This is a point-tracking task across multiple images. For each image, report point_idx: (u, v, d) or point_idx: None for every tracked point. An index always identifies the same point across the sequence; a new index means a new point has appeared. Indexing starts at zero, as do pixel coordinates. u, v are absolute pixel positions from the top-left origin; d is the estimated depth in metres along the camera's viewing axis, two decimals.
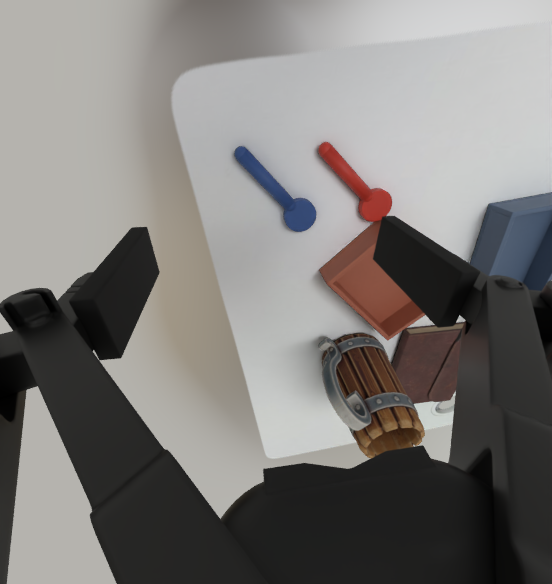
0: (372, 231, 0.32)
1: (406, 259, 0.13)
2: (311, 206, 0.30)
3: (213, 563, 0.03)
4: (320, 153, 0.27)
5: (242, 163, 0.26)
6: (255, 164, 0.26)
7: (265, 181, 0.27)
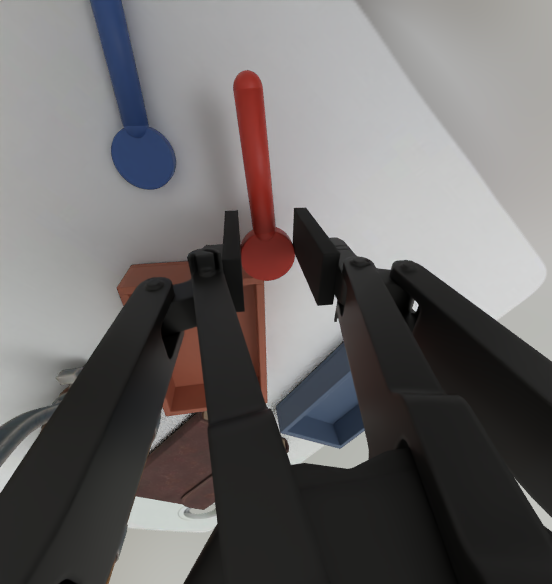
0: None
1: (304, 246, 0.15)
2: (169, 159, 0.17)
3: (284, 521, 0.04)
4: (235, 82, 0.12)
5: None
6: None
7: (108, 37, 0.13)
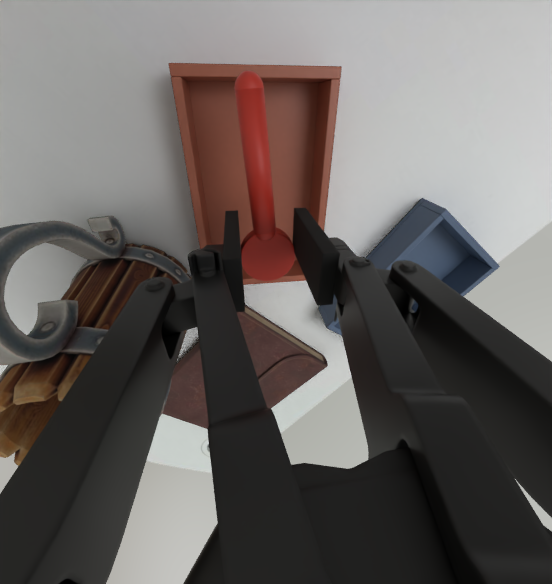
0: None
1: (303, 246, 0.15)
2: None
3: (284, 521, 0.04)
4: (236, 82, 0.12)
5: None
6: None
7: None
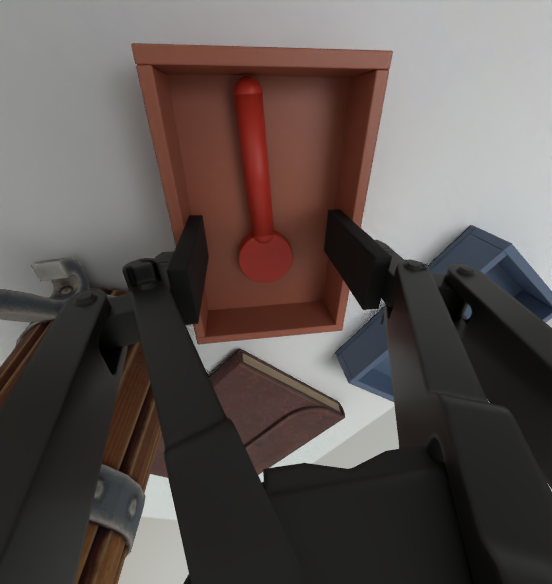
0: None
1: (343, 248, 0.14)
2: None
3: (255, 531, 0.04)
4: (235, 87, 0.12)
5: None
6: None
7: None
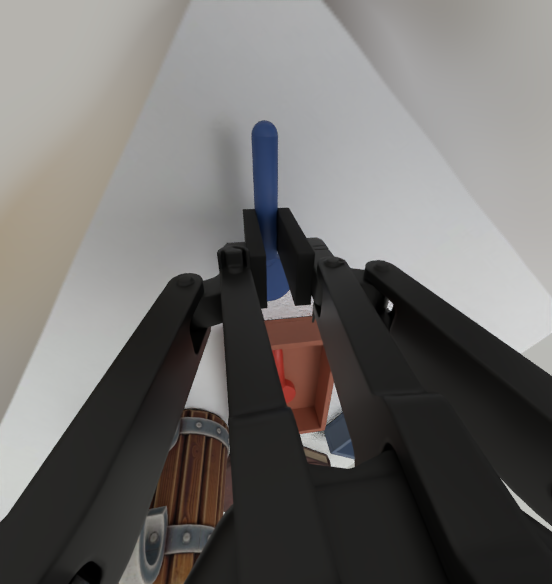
0: (311, 324, 0.26)
1: (284, 246, 0.15)
2: None
3: (299, 519, 0.04)
4: None
5: (255, 148, 0.14)
6: (272, 168, 0.15)
7: (265, 201, 0.16)
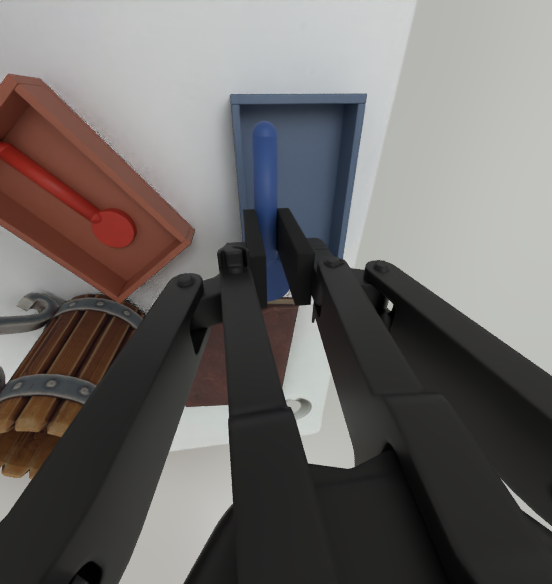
0: None
1: (284, 246, 0.15)
2: None
3: (299, 519, 0.04)
4: None
5: (255, 148, 0.14)
6: (271, 169, 0.15)
7: (264, 202, 0.16)
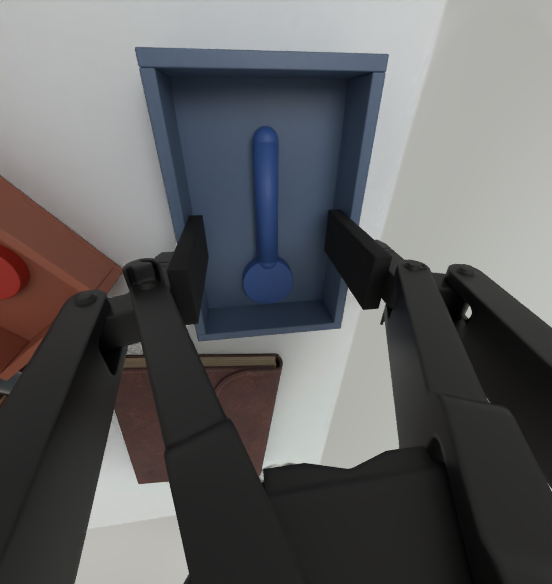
0: None
1: (343, 248, 0.14)
2: (290, 282, 0.19)
3: (255, 531, 0.04)
4: None
5: (257, 153, 0.14)
6: (273, 173, 0.15)
7: (266, 206, 0.16)
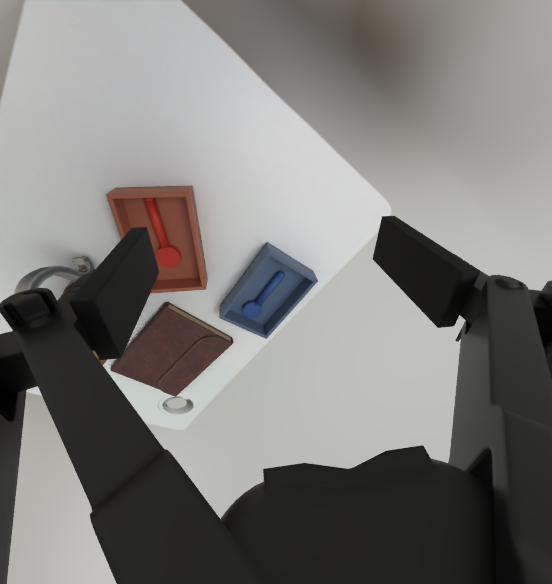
0: (174, 188, 0.36)
1: (406, 259, 0.13)
2: (259, 314, 0.50)
3: (213, 563, 0.03)
4: None
5: (277, 277, 0.46)
6: (277, 284, 0.47)
7: (269, 290, 0.47)
